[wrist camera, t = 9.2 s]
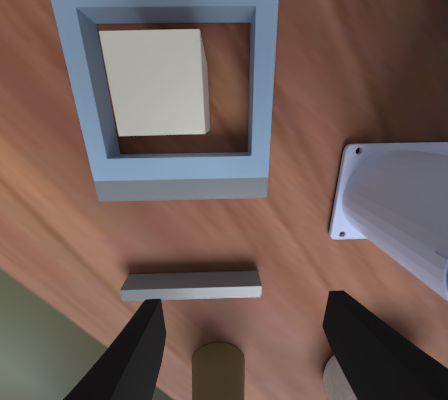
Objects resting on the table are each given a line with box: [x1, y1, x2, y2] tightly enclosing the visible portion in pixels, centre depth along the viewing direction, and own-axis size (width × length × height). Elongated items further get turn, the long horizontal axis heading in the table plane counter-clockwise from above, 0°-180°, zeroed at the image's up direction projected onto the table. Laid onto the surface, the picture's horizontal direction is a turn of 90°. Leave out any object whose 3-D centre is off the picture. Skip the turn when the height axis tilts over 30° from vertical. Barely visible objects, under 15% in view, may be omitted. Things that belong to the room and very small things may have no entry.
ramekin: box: [323, 355, 357, 400], centre depth 23 cm, size 11×11×5 cm
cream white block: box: [99, 29, 210, 136], centre depth 12 cm, size 4×4×6 cm
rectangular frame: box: [51, 0, 279, 301], centre depth 15 cm, size 12×21×2 cm, turn 1°
